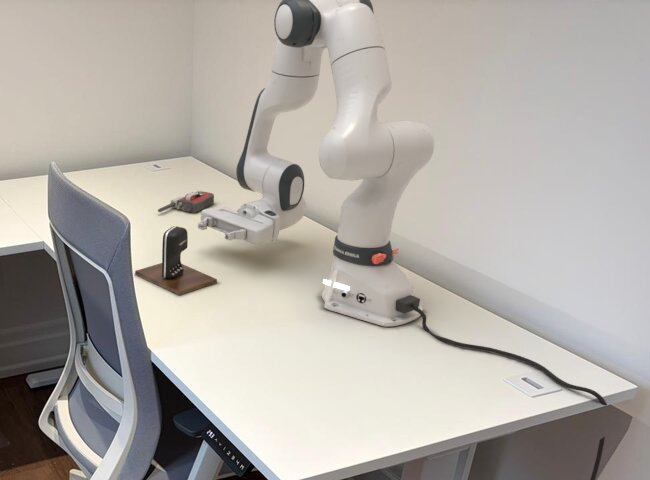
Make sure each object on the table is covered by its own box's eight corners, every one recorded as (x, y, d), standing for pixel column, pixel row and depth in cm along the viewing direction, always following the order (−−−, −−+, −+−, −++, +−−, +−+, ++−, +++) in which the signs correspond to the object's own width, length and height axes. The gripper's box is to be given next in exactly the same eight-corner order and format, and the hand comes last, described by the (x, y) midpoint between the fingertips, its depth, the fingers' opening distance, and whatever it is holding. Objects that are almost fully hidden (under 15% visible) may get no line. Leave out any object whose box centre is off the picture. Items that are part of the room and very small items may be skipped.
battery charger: (175, 281, 199) (177, 235, 194) (160, 278, 201) (162, 232, 195) (188, 271, 205) (190, 226, 199) (174, 268, 206) (175, 223, 200)
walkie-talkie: (192, 197, 259) (155, 214, 245) (192, 183, 256) (155, 199, 242) (217, 203, 254) (181, 220, 240) (218, 188, 252) (181, 205, 238)
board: (216, 283, 201) (217, 279, 201) (179, 295, 195) (179, 291, 194) (172, 263, 212) (172, 259, 212) (135, 274, 206) (135, 270, 205)
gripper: (224, 197, 218) (184, 208, 210) (284, 217, 204) (244, 229, 196) (223, 221, 221) (183, 232, 214) (282, 242, 207) (242, 255, 200)
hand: (213, 231), depth 205 cm, fingers open, 8 cm apart
